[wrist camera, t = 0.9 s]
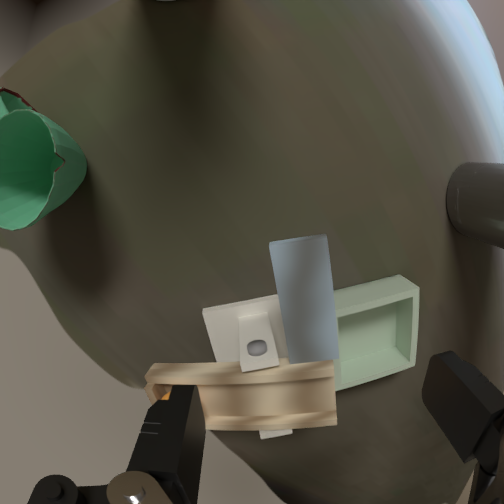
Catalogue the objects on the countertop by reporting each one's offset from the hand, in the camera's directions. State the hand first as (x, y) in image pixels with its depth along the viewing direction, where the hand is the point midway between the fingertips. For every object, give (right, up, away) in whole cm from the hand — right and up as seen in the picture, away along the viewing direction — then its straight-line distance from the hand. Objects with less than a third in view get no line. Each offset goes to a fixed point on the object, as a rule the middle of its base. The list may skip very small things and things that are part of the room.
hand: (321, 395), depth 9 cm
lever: (-4, -3, +16) cm, 17 cm away
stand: (-1, -6, +24) cm, 25 cm away
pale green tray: (+10, -4, +24) cm, 27 cm away
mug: (-23, +15, +18) cm, 33 cm away
